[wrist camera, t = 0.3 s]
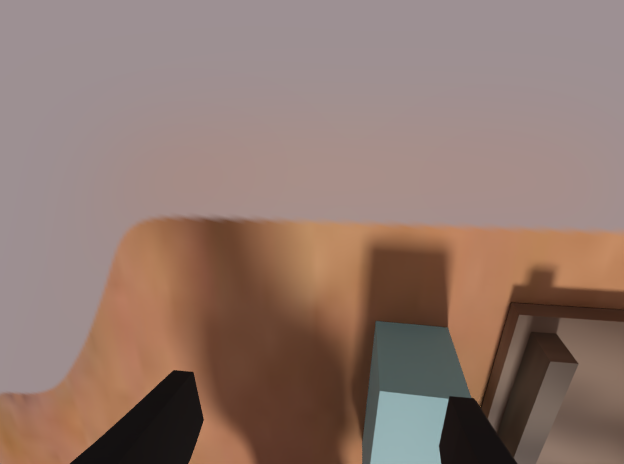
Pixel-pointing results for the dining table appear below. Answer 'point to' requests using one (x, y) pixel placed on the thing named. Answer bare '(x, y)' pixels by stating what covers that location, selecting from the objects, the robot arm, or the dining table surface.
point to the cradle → (559, 385)
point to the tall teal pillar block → (409, 393)
